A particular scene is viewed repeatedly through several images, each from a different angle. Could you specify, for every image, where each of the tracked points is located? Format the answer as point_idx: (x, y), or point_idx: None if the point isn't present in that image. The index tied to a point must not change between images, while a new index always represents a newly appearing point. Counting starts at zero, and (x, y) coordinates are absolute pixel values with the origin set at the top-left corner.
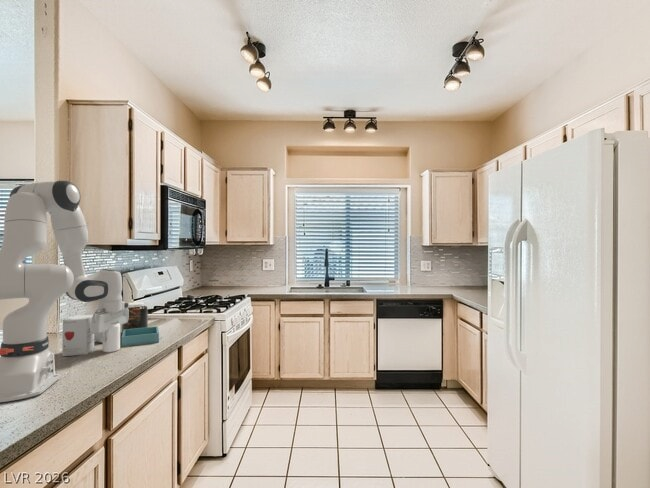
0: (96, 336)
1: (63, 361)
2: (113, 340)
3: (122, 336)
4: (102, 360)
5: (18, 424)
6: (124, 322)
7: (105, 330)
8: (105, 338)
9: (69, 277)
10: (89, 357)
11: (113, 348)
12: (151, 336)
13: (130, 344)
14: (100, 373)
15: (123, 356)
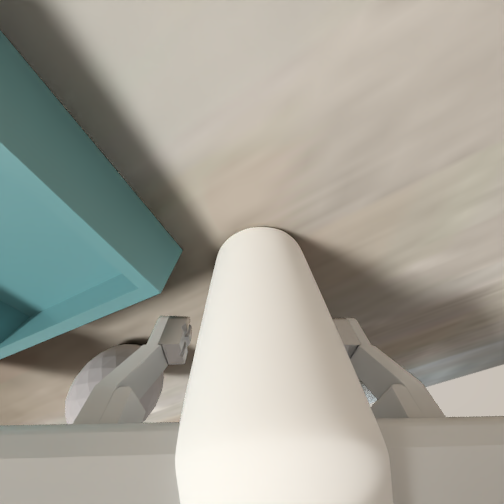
0: (160, 388)
1: (385, 337)
2: (313, 285)
3: (142, 295)
4: (454, 210)
5: None
6: (6, 457)
7: (457, 430)
8: (353, 337)
9: None
10: (363, 292)
11: (298, 248)
12: None
13: (144, 212)
14: None
15: (425, 104)
